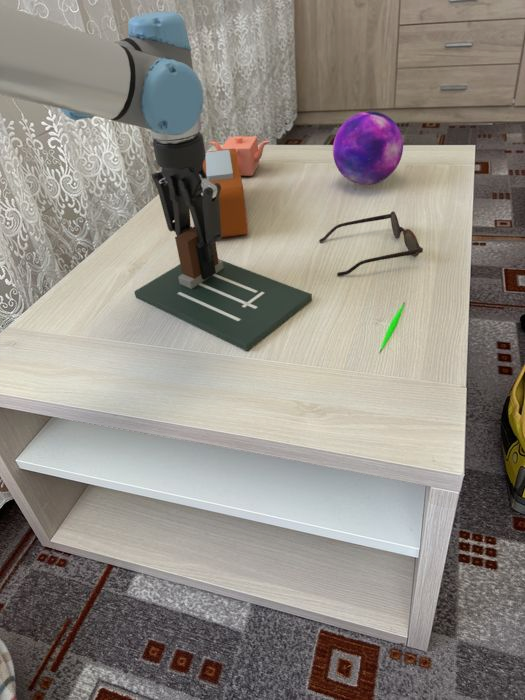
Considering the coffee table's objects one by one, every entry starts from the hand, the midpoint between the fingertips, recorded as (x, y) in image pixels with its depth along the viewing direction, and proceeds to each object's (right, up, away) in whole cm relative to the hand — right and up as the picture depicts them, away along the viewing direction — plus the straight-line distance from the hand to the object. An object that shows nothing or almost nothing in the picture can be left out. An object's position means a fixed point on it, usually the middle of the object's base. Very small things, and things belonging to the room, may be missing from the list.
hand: (201, 272), depth 96 cm
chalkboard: (+4, -5, -3) cm, 7 cm away
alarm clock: (+3, +15, +22) cm, 27 cm away
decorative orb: (+34, +24, +29) cm, 51 cm away
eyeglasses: (+30, +4, +5) cm, 30 cm away
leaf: (+30, -10, -13) cm, 34 cm away
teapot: (+6, +31, +40) cm, 51 cm away
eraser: (0, -1, 0) cm, 1 cm away
